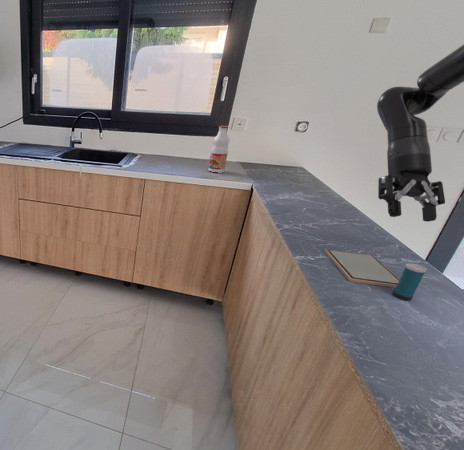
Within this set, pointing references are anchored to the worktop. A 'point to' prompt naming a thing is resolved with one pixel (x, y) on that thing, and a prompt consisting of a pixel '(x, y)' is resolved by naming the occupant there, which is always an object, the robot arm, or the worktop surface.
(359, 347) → the worktop surface
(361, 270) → the tablet
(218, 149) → the fruit juice
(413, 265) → the tumbler
